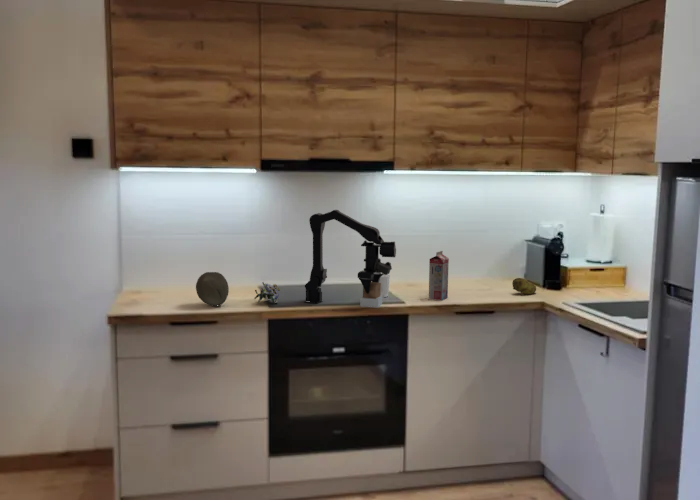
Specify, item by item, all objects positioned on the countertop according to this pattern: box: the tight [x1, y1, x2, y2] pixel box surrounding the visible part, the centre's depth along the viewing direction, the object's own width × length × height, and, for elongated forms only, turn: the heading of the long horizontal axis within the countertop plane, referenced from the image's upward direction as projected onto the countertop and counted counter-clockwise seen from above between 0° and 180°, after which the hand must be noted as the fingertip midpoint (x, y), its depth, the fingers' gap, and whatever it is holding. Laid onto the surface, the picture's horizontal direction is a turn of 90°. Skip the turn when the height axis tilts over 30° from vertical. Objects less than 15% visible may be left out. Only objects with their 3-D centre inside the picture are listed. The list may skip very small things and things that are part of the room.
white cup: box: [379, 274, 390, 298], centre depth 310 cm, size 8×8×10 cm
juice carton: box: [428, 250, 450, 302], centre depth 305 cm, size 7×7×22 cm
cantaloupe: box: [195, 271, 230, 307], centre depth 286 cm, size 14×14×15 cm
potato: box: [512, 277, 537, 295], centre depth 318 cm, size 8×13×8 cm, turn 98°
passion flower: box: [253, 281, 281, 304], centre depth 293 cm, size 11×11×12 cm
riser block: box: [359, 296, 383, 308], centre depth 291 cm, size 8×8×4 cm
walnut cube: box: [362, 281, 381, 299], centre depth 290 cm, size 6×6×6 cm
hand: (371, 291), depth 291 cm, fingers open, 9 cm apart
